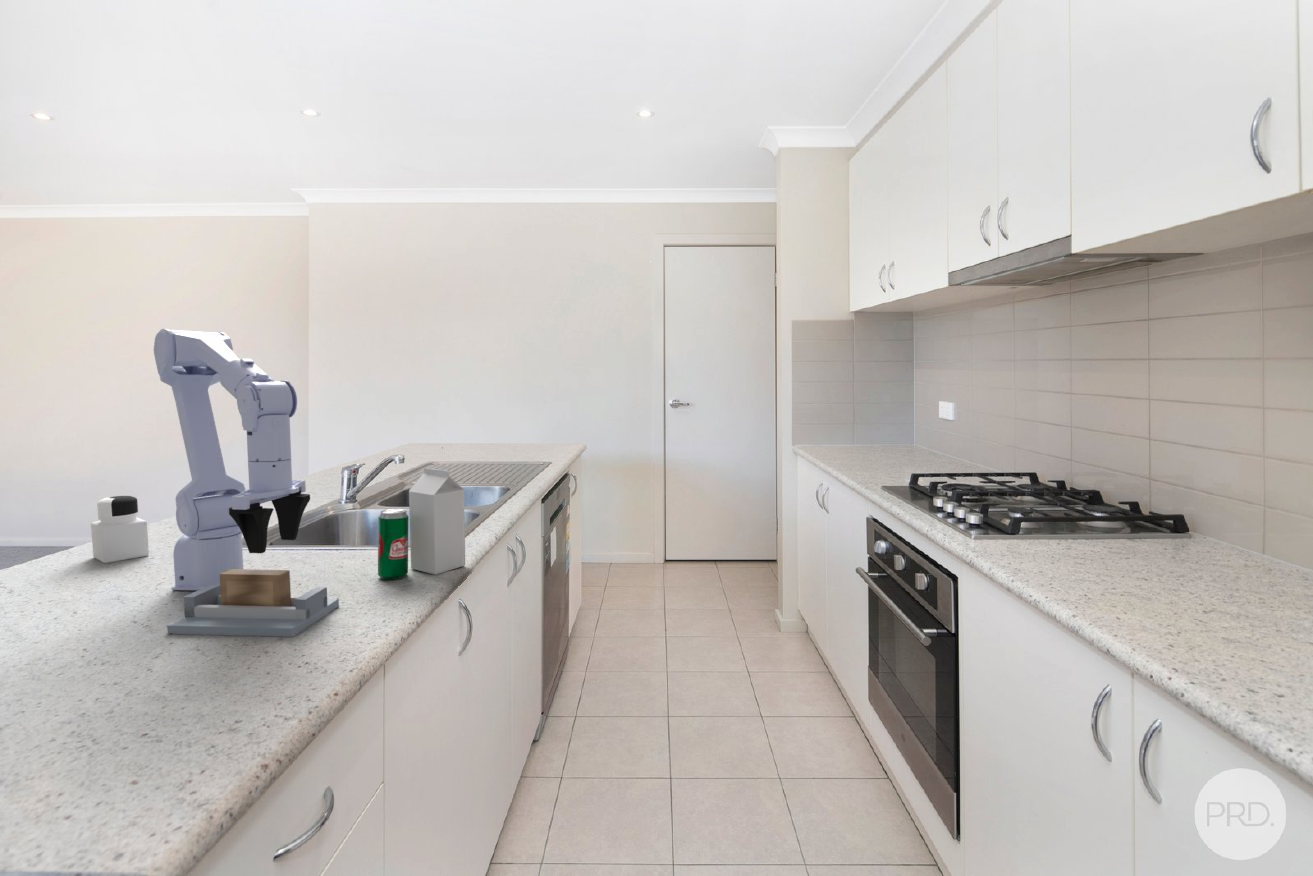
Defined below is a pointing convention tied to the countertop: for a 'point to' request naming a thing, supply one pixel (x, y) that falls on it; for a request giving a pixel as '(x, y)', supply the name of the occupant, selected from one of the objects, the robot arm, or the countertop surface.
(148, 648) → the countertop surface
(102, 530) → the medicine bottle
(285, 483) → the robot arm
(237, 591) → the door slab
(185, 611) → the floor track
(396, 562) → the soda can
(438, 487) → the milk carton
